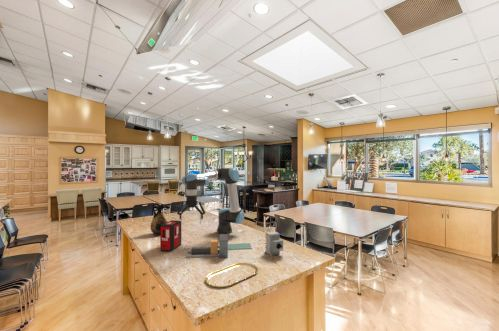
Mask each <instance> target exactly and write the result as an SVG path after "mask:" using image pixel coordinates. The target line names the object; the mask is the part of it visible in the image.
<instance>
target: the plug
mask: <svg viewBox="0 0 499 331" xmlns="http://www.w3.org/2000/svg"><path fill="white" fill-rule="evenodd" d="M218 250H219V239H210V246H199V247H198V246H197V247H195V246H193V247H191V249H190V251H191V253H190V255H197V254H219V252H218Z"/></svg>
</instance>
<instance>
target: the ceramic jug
mask: <svg viewBox="0 0 499 331" xmlns="http://www.w3.org/2000/svg"><path fill="white" fill-rule="evenodd" d="M156 206H157V207H156ZM155 207H156V208H155ZM151 208H152V212H153V217H152V219H151V222H150V225H149V226H150V230H151V232H152V234H153V235H154V236H160V225H162V224H165V223H167V222H168V221H167V218H166V217H165V215H164V214H163V213H162V210H164V209H166V208H167V206H165V204H163V203H162V204H161V205H160V203H158V202H155V203H153V204H152V206H151ZM155 210H156V211H157V212H156V211H155Z"/></svg>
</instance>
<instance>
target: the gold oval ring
mask: <svg viewBox="0 0 499 331" xmlns="http://www.w3.org/2000/svg"><path fill="white" fill-rule="evenodd" d="M241 266H242V267H243V266H246V267H250V268H252V269H254V271H255V272H254V273H253V274H250V275H249V276H246V277H244V278H241V279H240V280H238V281H235V282H233V283H231V284H227V285H213V284H210V281H209V280H210V279H211V277H213V276H215V275H216V276H217V275H218V274H222V273H223V272H227V271H228V270H231V269H233V268H235V267H241ZM258 271H259V268H258V266H256V265H255V264H253V263H250V262H249V263H248V262H238V263H233V264H230V265H228V266H226V267H223V268H220V269H218V270H214V271H213V272H210V273H208V274H207V275H206V276H205V283H206V284H207V285H209V286H210V287H212V288H218V289H219V288H227V287H228V288H229V287H231V286H233V285H235V284H237V283H240V282H242V281H244V280H247V279H249V278H250V277H251V278H252V277H253V276H255V275H256V274H257V273H258Z"/></svg>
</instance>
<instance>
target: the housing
mask: <svg viewBox="0 0 499 331" xmlns="http://www.w3.org/2000/svg"><path fill="white" fill-rule="evenodd" d="M228 236H229V234H219V239H218V246H219V249H218V254H197V255H191V250H188V251H187V254H186V255H185V258H208V257H209V258H210V257H212V258H213V257H219V258H220V259H227V258H229V257H228V256H229V254H228V253H229V250H228V244H229V237H228Z"/></svg>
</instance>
